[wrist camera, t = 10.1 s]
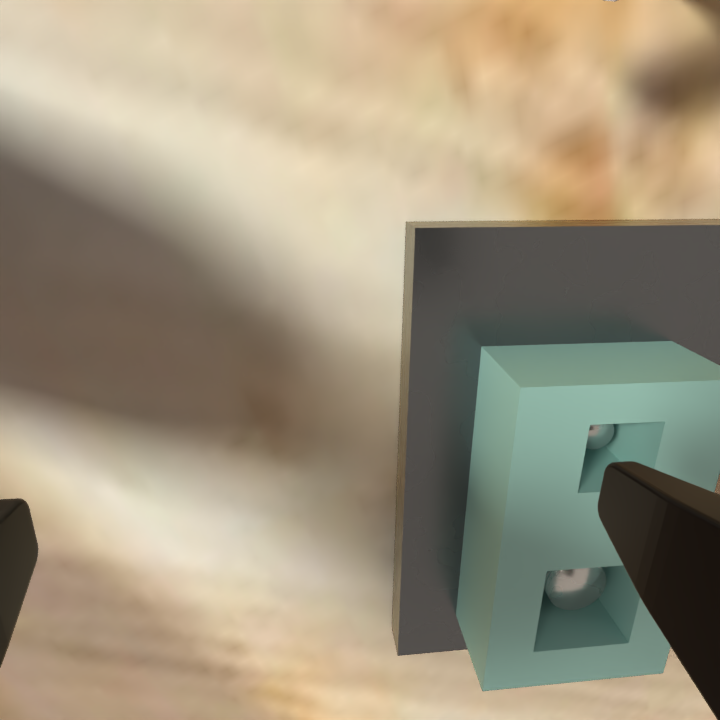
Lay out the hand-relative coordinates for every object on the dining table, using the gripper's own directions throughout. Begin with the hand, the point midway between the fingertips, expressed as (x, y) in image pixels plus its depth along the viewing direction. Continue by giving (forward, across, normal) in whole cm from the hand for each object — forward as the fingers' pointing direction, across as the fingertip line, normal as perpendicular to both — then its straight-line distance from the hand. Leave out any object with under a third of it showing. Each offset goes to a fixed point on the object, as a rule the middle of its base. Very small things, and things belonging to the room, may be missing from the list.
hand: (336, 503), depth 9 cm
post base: (+11, -10, +6) cm, 16 cm away
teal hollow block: (+10, -10, +7) cm, 15 cm away
